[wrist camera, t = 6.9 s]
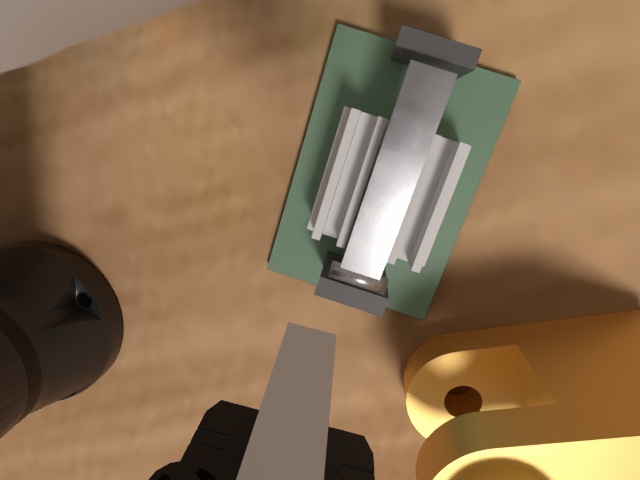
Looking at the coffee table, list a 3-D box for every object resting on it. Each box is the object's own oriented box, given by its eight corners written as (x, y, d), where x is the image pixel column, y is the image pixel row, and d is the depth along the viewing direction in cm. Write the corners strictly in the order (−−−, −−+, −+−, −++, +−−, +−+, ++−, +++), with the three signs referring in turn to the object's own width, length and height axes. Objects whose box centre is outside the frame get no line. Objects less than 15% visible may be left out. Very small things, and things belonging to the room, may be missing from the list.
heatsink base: (422, 315, 39) (434, 359, 31) (269, 265, 39) (247, 297, 32) (516, 81, 33) (557, 69, 26) (338, 26, 34) (330, -1, 26)
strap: (382, 290, 31) (383, 297, 30) (328, 272, 31) (326, 279, 30) (464, 78, 26) (468, 77, 25) (400, 57, 26) (401, 56, 25)
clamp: (411, 428, 42) (436, 607, 26) (396, 339, 40) (413, 476, 24) (642, 406, 39) (824, 592, 23) (639, 309, 37) (836, 442, 21)
